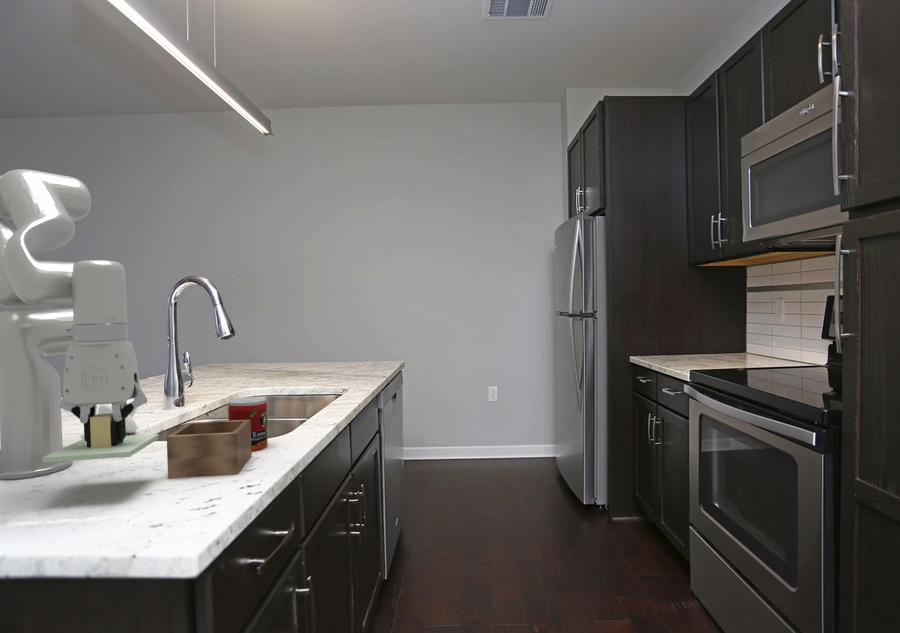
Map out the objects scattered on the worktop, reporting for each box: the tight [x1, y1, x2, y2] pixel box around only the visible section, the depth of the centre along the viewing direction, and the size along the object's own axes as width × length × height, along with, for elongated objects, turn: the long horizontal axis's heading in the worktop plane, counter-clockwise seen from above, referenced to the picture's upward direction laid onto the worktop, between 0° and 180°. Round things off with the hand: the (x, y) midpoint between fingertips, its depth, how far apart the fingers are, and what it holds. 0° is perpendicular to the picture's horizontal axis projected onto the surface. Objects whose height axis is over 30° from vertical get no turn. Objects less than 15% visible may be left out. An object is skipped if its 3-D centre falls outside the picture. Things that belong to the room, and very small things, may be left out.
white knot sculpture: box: [96, 398, 138, 434], centre depth 135 cm, size 11×12×9 cm
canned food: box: [227, 396, 268, 453], centre depth 116 cm, size 8×8×11 cm
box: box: [166, 420, 253, 480], centre depth 103 cm, size 12×12×8 cm
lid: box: [42, 413, 160, 463], centre depth 90 cm, size 12×12×6 cm
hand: (105, 443), depth 90 cm, fingers closed on lid, 3 cm apart
